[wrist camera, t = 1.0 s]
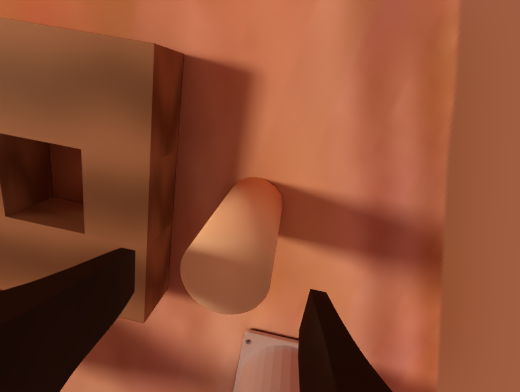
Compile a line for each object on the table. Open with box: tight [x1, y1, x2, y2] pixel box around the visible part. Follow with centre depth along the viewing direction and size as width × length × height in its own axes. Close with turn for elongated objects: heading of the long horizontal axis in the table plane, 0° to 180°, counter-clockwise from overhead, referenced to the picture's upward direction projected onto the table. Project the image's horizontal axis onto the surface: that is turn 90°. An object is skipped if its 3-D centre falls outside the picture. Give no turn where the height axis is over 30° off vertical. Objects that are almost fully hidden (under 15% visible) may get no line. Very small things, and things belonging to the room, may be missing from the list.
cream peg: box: [180, 177, 283, 314], centre depth 17 cm, size 4×4×9 cm
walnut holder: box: [0, 17, 184, 323], centre depth 20 cm, size 18×14×4 cm
